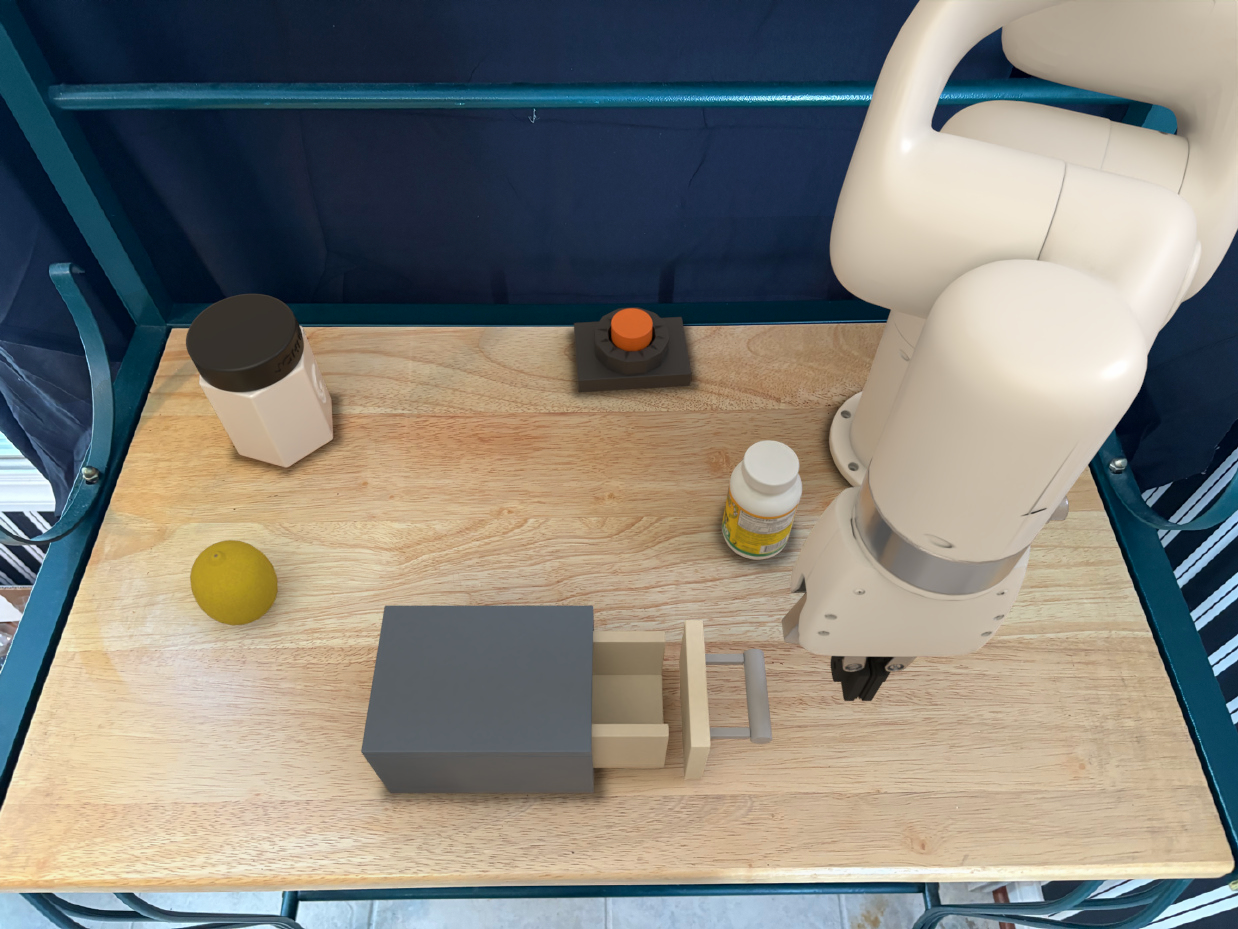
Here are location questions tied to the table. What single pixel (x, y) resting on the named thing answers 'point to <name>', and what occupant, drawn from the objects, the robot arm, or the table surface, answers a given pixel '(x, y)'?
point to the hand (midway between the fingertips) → (853, 677)
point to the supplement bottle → (762, 500)
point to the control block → (631, 357)
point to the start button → (631, 329)
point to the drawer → (636, 699)
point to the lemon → (233, 582)
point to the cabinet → (482, 700)
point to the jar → (261, 378)
